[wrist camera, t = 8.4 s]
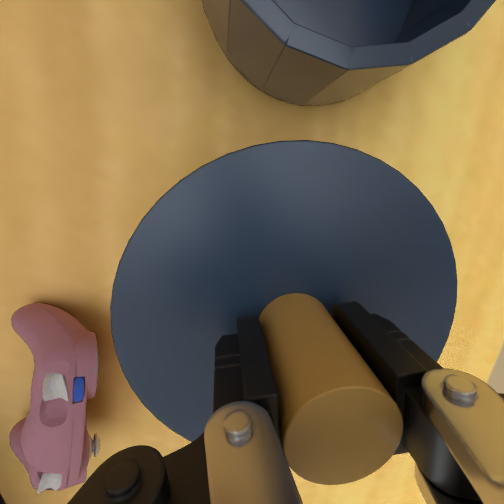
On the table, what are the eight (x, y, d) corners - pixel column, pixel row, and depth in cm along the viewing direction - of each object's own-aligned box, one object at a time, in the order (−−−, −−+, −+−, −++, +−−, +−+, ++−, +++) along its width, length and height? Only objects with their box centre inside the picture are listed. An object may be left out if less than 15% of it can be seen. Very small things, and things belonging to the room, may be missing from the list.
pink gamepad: (90, 411, 22) (101, 506, 16) (11, 430, 19) (-7, 551, 14) (102, 292, 19) (120, 357, 14) (13, 295, 17) (-7, 377, 11)
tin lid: (80, 163, 9) (-119, 156, 4) (450, 125, 10) (715, 76, 5) (157, 457, 13) (110, 668, 7) (425, 411, 14) (558, 570, 8)
